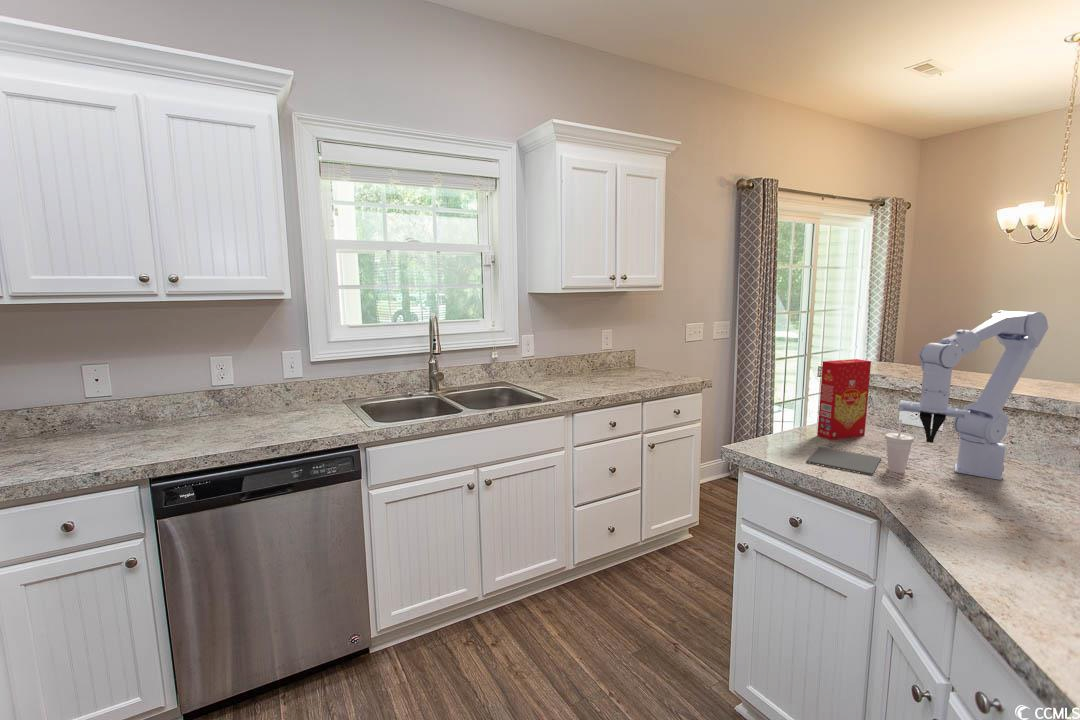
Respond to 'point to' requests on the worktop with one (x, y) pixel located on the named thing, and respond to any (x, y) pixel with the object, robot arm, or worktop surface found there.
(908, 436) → the smoothie
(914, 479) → the worktop surface
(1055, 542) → the worktop surface
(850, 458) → the mat
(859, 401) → the food packaging
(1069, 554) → the worktop surface
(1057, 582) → the worktop surface
